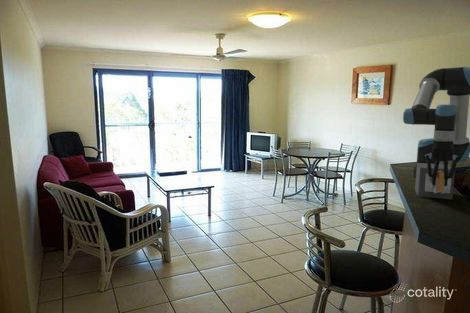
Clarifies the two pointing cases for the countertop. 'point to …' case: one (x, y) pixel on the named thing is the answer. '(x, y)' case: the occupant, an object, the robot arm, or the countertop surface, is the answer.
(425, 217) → the countertop surface
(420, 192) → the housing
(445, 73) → the robot arm
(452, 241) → the countertop surface
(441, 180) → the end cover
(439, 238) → the countertop surface
